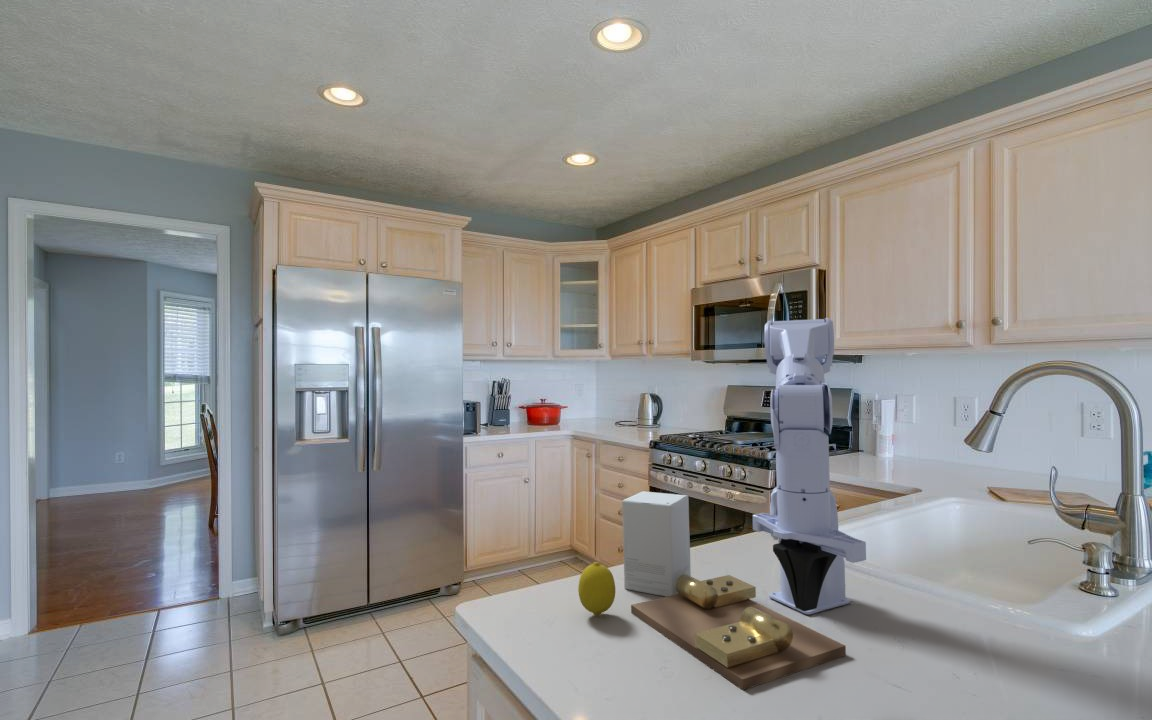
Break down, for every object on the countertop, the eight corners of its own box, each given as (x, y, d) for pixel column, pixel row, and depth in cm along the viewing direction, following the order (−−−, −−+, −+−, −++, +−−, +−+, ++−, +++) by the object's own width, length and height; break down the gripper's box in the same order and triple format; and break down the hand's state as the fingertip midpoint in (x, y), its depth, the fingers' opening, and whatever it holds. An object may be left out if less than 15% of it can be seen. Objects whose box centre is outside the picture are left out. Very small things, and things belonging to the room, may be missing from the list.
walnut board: (719, 592, 94) (719, 584, 94) (845, 655, 73) (845, 645, 73) (631, 612, 87) (631, 604, 87) (742, 690, 65) (742, 679, 65)
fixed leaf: (723, 582, 95) (723, 562, 95) (755, 597, 88) (755, 576, 88) (670, 593, 90) (670, 573, 90) (700, 611, 84) (700, 588, 84)
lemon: (613, 625, 83) (612, 569, 83) (575, 622, 84) (574, 567, 84) (618, 609, 88) (617, 557, 88) (582, 607, 89) (581, 555, 89)
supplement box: (692, 581, 100) (690, 494, 100) (673, 599, 92) (671, 505, 92) (644, 572, 104) (642, 489, 105) (622, 589, 96) (620, 499, 97)
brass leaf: (758, 628, 78) (758, 604, 78) (793, 647, 72) (792, 621, 72) (695, 646, 73) (694, 620, 73) (727, 667, 68) (726, 640, 68)
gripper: (732, 481, 71) (735, 592, 71) (831, 504, 58) (835, 641, 58) (775, 476, 74) (777, 582, 74) (877, 497, 61) (881, 626, 61)
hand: (806, 607), depth 66 cm, fingers closed
